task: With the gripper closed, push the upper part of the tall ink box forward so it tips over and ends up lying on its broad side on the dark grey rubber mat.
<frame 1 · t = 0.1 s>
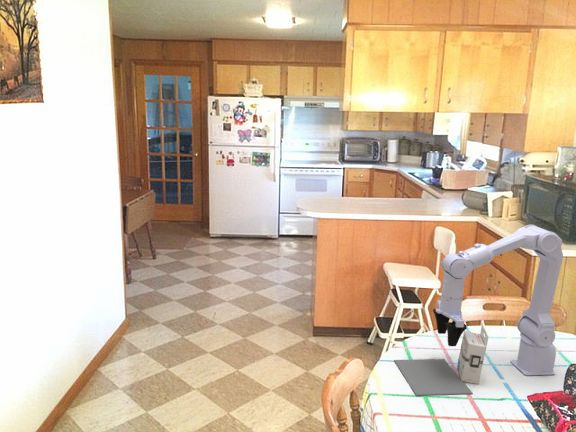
hand: (446, 339, 136), 10 cm above the table, tool pointing down, fingers open, 7 cm apart
ink box: (467, 375, 135), on the table, touching rubber mat
rubber mat: (431, 376, 134), on the table
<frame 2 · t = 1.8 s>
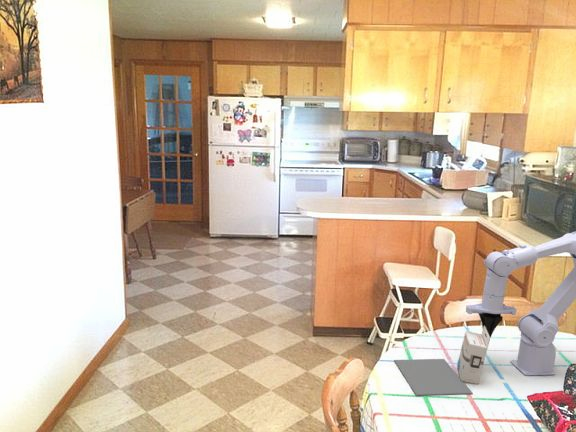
hand: (486, 336, 138), 10 cm above the table, tool pointing down, fingers closed
nothing on the table moved.
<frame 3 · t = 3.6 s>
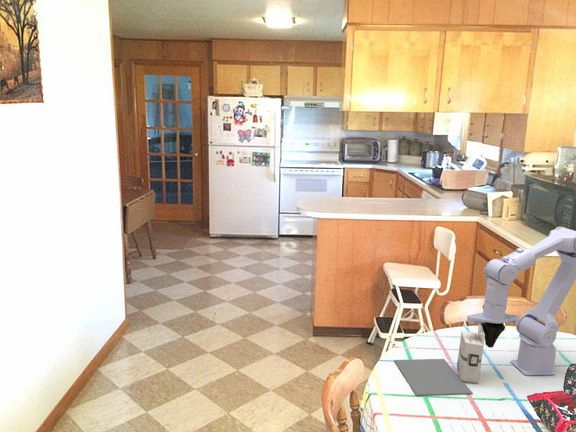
hand: (489, 345, 134), 9 cm above the table, tool pointing down, fingers closed
ink box: (467, 375, 135), on the table, touching rubber mat
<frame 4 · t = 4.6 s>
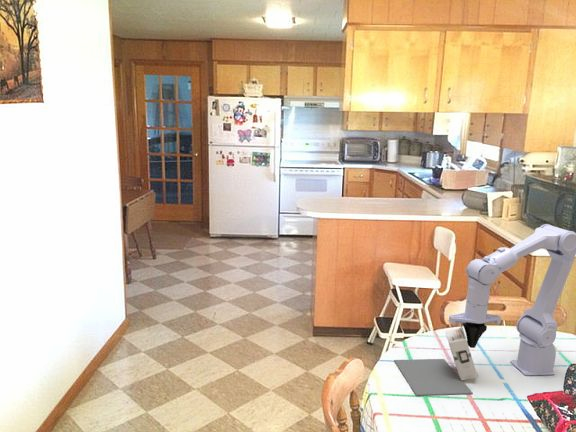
hand: (471, 346, 133), 9 cm above the table, tool pointing down, fingers closed
ink box: (467, 372, 135), point 1 cm above the table, touching rubber mat
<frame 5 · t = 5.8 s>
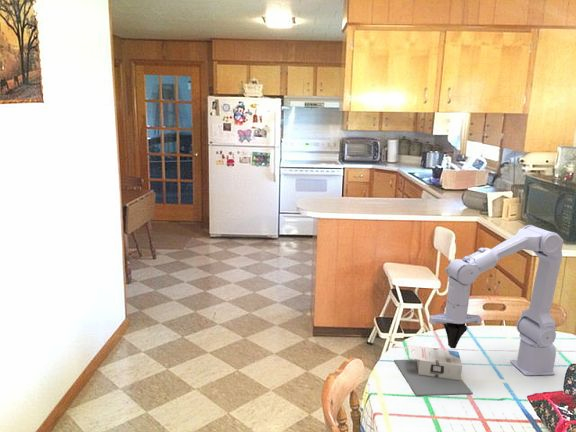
hand: (451, 346, 133), 9 cm above the table, tool pointing down, fingers closed
ink box: (460, 365, 135), point 3 cm above the table, touching rubber mat
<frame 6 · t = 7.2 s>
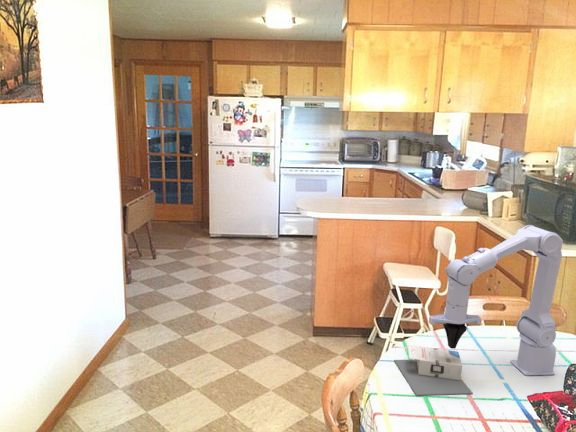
hand: (451, 346, 133), 9 cm above the table, tool pointing down, fingers closed
nothing on the table moved.
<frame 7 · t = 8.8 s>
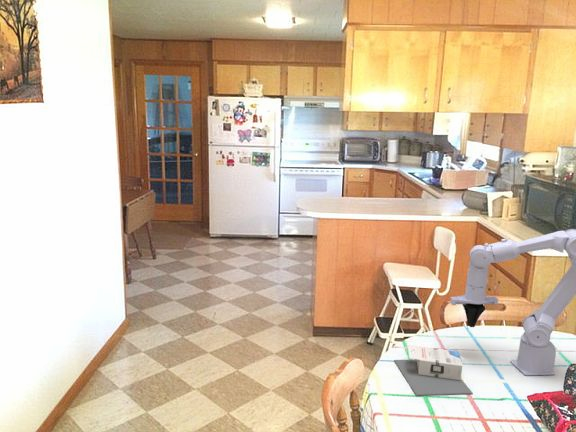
hand: (470, 325, 144), 10 cm above the table, tool pointing down, fingers closed
nothing on the table moved.
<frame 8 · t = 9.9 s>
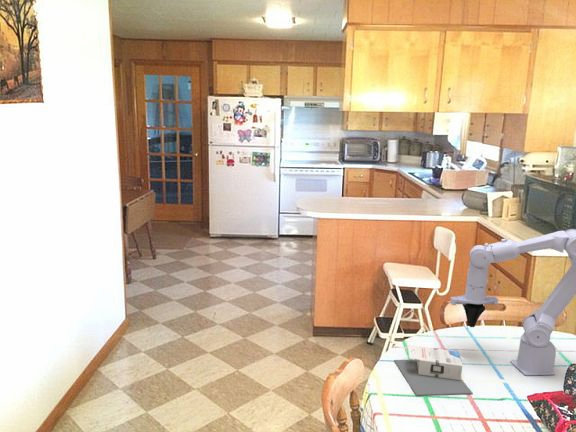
hand: (470, 325, 144), 10 cm above the table, tool pointing down, fingers closed
nothing on the table moved.
at the end: ink box tilted 90°; ink box touching rubber mat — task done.
